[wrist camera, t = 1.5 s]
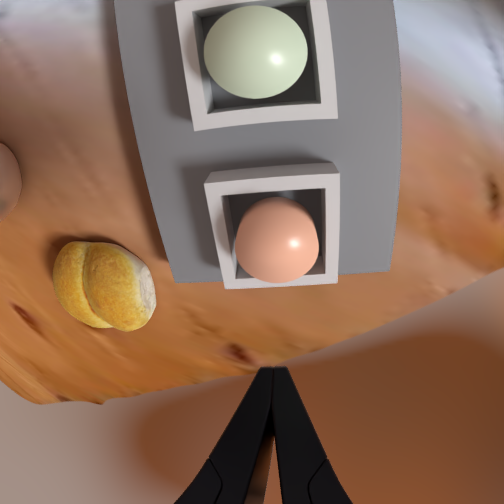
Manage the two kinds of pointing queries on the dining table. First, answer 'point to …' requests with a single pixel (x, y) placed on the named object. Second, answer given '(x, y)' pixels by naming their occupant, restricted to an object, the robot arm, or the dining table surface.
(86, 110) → the dining table surface
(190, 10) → the panel
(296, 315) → the dining table surface
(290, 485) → the robot arm
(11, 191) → the plastic bottle
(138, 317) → the bread roll
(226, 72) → the sage button
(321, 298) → the dining table surface
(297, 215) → the terracotta button
